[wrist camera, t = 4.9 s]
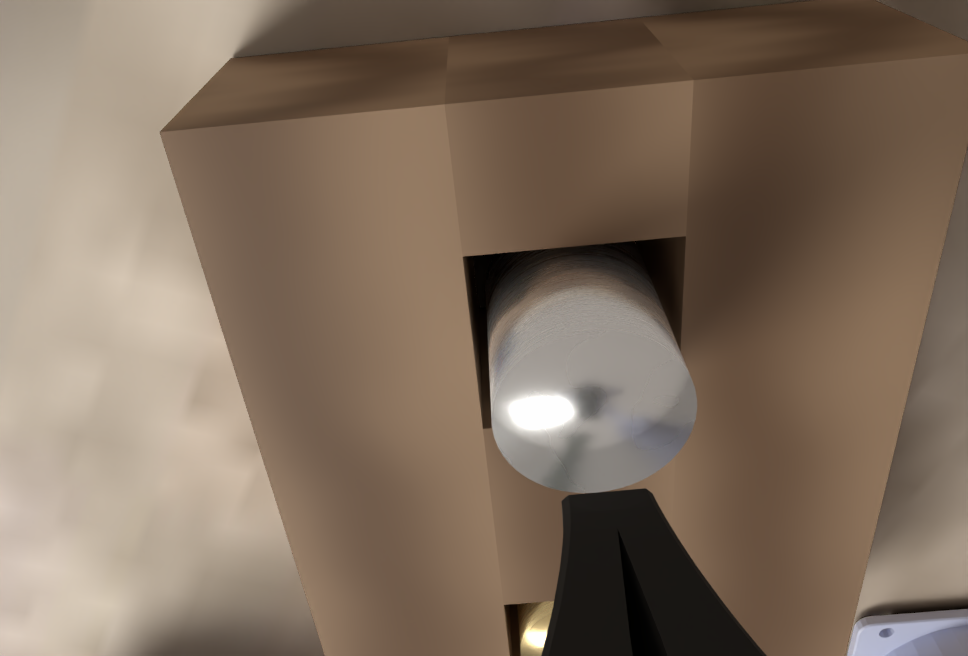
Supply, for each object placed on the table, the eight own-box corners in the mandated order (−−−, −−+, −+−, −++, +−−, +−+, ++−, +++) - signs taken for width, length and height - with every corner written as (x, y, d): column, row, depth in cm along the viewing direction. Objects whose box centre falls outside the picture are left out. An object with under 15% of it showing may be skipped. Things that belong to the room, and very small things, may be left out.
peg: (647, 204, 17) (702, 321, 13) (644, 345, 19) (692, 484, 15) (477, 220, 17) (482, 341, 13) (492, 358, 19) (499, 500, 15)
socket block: (863, -5, 18) (990, 51, 13) (771, 599, 28) (825, 737, 24) (231, 58, 18) (159, 132, 14) (375, 630, 29) (360, 771, 24)
